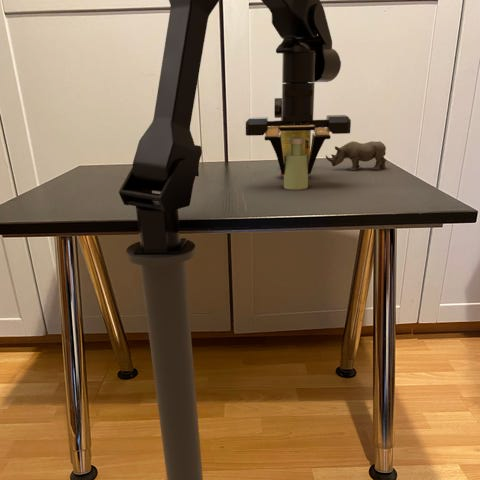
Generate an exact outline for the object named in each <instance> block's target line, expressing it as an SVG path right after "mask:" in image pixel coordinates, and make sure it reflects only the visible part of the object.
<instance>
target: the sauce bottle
mask: <svg viewBox="0 0 480 480" xmlns="http://www.w3.org/2000/svg"><path fill="white" fill-rule="evenodd" d="M281 119H282V118H280V121H282V120H281ZM292 124H294V123H292ZM307 124H309V123H307ZM279 134H281V142H282V151H283V160H284V155H286V154H291V144H290V138H293V137H303V138H304V144H303V152H302V153H303V154H308V155H309V157H310V150H311V144H312V137H311V136H312V130H301V131H280V133H279ZM309 175H310V174H308V176H309ZM280 177H281V178H283V179H284V175H282V172H281V171H280Z"/></svg>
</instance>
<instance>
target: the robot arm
mask: <svg viewBox="0 0 480 480" xmlns="http://www.w3.org/2000/svg"><path fill="white" fill-rule="evenodd" d="M260 1H261V2H262V3H263V4H264V5H265V7H266V8H267V9H268V10H269V12H270V14H271V25H272V26H273V27H274V30H275V31H276V32H277V34H278V35H279V37H280V38H281V39H282V41H281V43H280V44H279V45H278V46H277V47H276V48H275V53H276V54H278V55H279V54H282V58H281V59H282V62H281V63H282V65H281V66H282V68H281V78H282V79H281V82H282V83H281V97H276V98H274V108H273V109H274V110H273V111H274V118H275V119H280V120H269V117H268V116H251V117H249V118H248V119H247V120H246V121H245V136H249V137H253V136H255V137H257V136H264V141H269V142H270V144H271V146H272V148H273V151H274V153H275V156H276V159H277V162H278V165H279V168H280V173H281V172H282V175H284V160H283V151H282V142H281V134H280V131H301V130H311V131H313V132H314V133H313V132H312V134H311V136H312V137H311V144H310V157H309V165H308V174H309V175H311V173H312V171H313V168H314V166H315V163H316V160H317V157H318V154H319V152H320V150H321V148H322V146H323V145H324V142H325V140H330V139H331V137H332V136H331V135H330V133H331V134H333V135H339V134H340V135H346V134H347V135H348V134H351V129H352V128H351V127H352V122H351V121H352V119H350V117H349V116H348V115H346V114H334V115H332V114H331V115H326V117H325V118H326V119H314V108H315V83H329V82H332V81H333V80H335V79H336V77H338V75H339V73H340V70H341V67H342V61H341V57H340V55H339V52H337V50H336V49H333V39H332V36H331V31H330V28H329V24H328V19H327V16H326V12H325V8H324V6H323V4H322V2H321V0H260ZM168 2H169V6H170V8H169V15H168V16H169V17H168V23H167V28H166V35H165V42H164V49H163V54H162V61H161V69H160V74H159V81H158V86H157V94H156V100H155V106H154V114H153V120H152V122H151V123H150V124H149V127H148V128H147V129H145V132H144V133H143V135H142V136H141V137H140V139H139V140H138V143H137V147H136V151H135V154H134V157H133V161H132V167H131V169H130V171H129V172H128V174H127V176H126V178H125V179H124V181H123V183H122V185H121V187H120V188H119V190H118V194H119V197H120V199H121V201H122V203H123V205H125V206H132V207H135V211H136V212H135V213H136V222H137V228H138V237H139V242H140V244H139V245H138V246H137V247H136V248H135V249H134V251H133V254H134V255H177V254H180V252H181V250H182V249H183V247H184V245H185V244H186V242H187V240H188V238H185V237H184V238H183V237H181V238H180V236H181V233H180V219H179V210H180V209H183V208H188V207H190V206H191V202H192V201H191V200H192V194H193V188H194V183H195V180H196V177H199V176H200V173H199V167H200V161H201V157H202V154H203V149H202V148H203V147H202V146H201V145H197V144H195V141H194V138H193V135H192V132H191V123H192V117H193V111H194V107H195V106H194V105H195V101H196V93H197V87H198V82H199V76H200V69H201V64H202V57H203V51H204V45H205V41H206V40H205V39H206V33H207V28H208V21H209V17H210V15H211V13H213V11H214V9H215V8H216V6H217V5H218V3H219V2H220V0H168ZM286 83H287V84H286ZM281 118H282V119H281ZM281 120H282V121H281ZM292 123H294V124H292ZM307 123H309V124H307ZM155 192H158V193H155Z"/></svg>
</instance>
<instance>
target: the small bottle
mask: <svg viewBox="0 0 480 480" xmlns="http://www.w3.org/2000/svg"><path fill="white" fill-rule="evenodd" d="M290 144H291V154H286V155H284V178H283V188H284V189H285V190H292V191H297V190H299V191H300V190H305V189H308V187H309V175H308V165H309V155H308V154H303V153H302V152H303V144H304V138H303V137H293V138H290Z"/></svg>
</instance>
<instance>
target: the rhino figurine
mask: <svg viewBox="0 0 480 480" xmlns="http://www.w3.org/2000/svg"><path fill="white" fill-rule="evenodd" d="M334 150H335V151H336V153H335V154H332V153H331V154H330V155H331V157H329V156H328V155H325V159H326V160H327V161H328V162H330V163H331V166H332V167H336V166H338V165H340V164H341V163H342V162H344V160H345V159H349V160H351V163H352V164H351V165H352V166H351V168H350V171H357V170H358V169H359V168H360V164H359V163H360V162H364V163H365V162H369V161H371V160H374V159H375V164H374V166H373V167H372V170H373V171H380V170H382V169H386V167H387V166H386V162H387V159H386V158H385V156H386V150H387V147H386V145H385V144H384V142H382V141H372V140H371V141H368V142H365V143H360V142H358V141H354V140H353V141H350V142H347V143H345V144H344V145H342V146H340V147H338V146H336V145H335V146H334Z"/></svg>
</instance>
